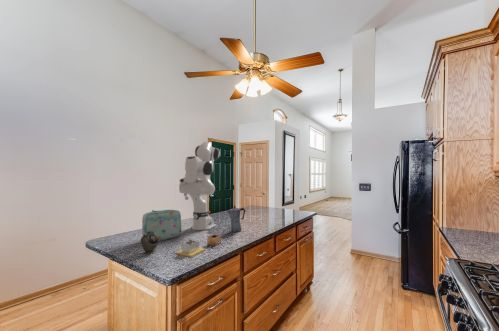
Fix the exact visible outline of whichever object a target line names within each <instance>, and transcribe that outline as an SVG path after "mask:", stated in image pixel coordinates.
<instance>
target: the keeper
mask: <svg viewBox="0 0 499 331" xmlns="http://www.w3.org/2000/svg"><path fill="white" fill-rule="evenodd" d="M193 240H194V239H192V238H190V239H188V241H189V244H191V243H193ZM205 251H206V249H205V248H202V247H199V249H198V250H196V251H194V252H192V253H190V254H189V253H184V252H182V249H180V250H178V251H176V252H175V254H176V255H179V256H184V257H187V258H193V257H195V256H197V255H199V254H202V253H203V252H205Z"/></svg>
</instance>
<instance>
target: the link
mask: <svg viewBox="0 0 499 331" xmlns="http://www.w3.org/2000/svg"><path fill="white" fill-rule="evenodd" d="M199 248H200V245H199V240H195V239H193V243H191V244H189V240H188V241H185V242H183V243H181V250H182V252H184V253H189V254H190V253H192V252H194V251H196V250H198V249H199Z"/></svg>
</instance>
